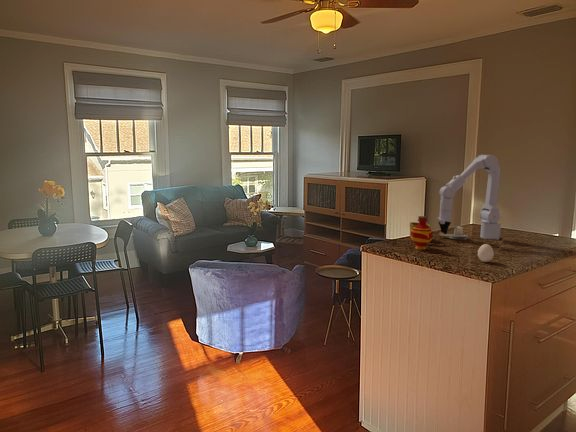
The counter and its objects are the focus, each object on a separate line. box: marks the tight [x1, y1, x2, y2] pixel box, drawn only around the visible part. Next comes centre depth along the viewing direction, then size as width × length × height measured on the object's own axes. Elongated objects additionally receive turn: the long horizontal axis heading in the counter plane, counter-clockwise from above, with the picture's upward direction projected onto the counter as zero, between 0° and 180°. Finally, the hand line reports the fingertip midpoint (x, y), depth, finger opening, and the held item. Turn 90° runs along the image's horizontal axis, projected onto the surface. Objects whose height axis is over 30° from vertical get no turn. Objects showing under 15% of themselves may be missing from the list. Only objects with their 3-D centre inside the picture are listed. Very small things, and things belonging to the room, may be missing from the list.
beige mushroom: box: [451, 225, 464, 240], centre depth 232 cm, size 6×6×6 cm
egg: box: [477, 243, 494, 263], centre depth 188 cm, size 6×6×8 cm
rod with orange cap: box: [439, 231, 469, 238], centre depth 229 cm, size 14×2×2 cm, turn 74°
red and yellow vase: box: [409, 215, 434, 250], centre depth 210 cm, size 10×10×15 cm
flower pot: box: [409, 221, 431, 234], centre depth 226 cm, size 9×9×9 cm
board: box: [448, 236, 468, 241], centre depth 231 cm, size 14×20×2 cm
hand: (443, 235), depth 232 cm, fingers closed
